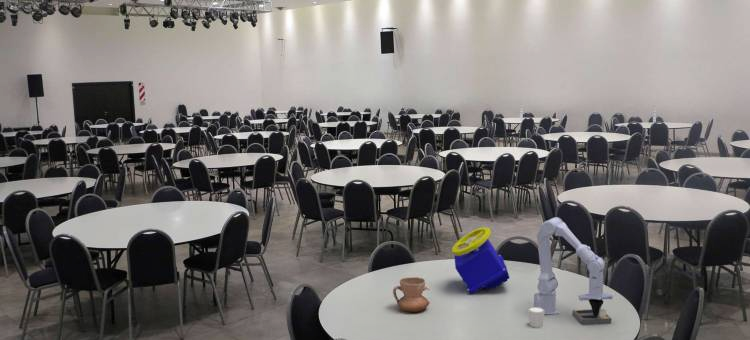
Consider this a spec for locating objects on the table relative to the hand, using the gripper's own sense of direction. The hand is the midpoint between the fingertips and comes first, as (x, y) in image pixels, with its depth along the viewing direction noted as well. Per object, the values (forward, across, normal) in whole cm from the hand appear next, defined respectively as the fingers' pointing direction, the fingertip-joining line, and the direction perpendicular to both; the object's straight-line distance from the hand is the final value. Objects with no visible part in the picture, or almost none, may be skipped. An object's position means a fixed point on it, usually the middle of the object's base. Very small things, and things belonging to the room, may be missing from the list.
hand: (595, 315), depth 271 cm
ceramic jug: (+3, -78, +26) cm, 83 cm away
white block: (+2, +3, +6) cm, 7 cm away
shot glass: (+3, -26, 0) cm, 27 cm away
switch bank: (+3, 0, +3) cm, 4 cm away
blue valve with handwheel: (+3, -40, +49) cm, 63 cm away
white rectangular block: (+2, +3, 0) cm, 3 cm away
